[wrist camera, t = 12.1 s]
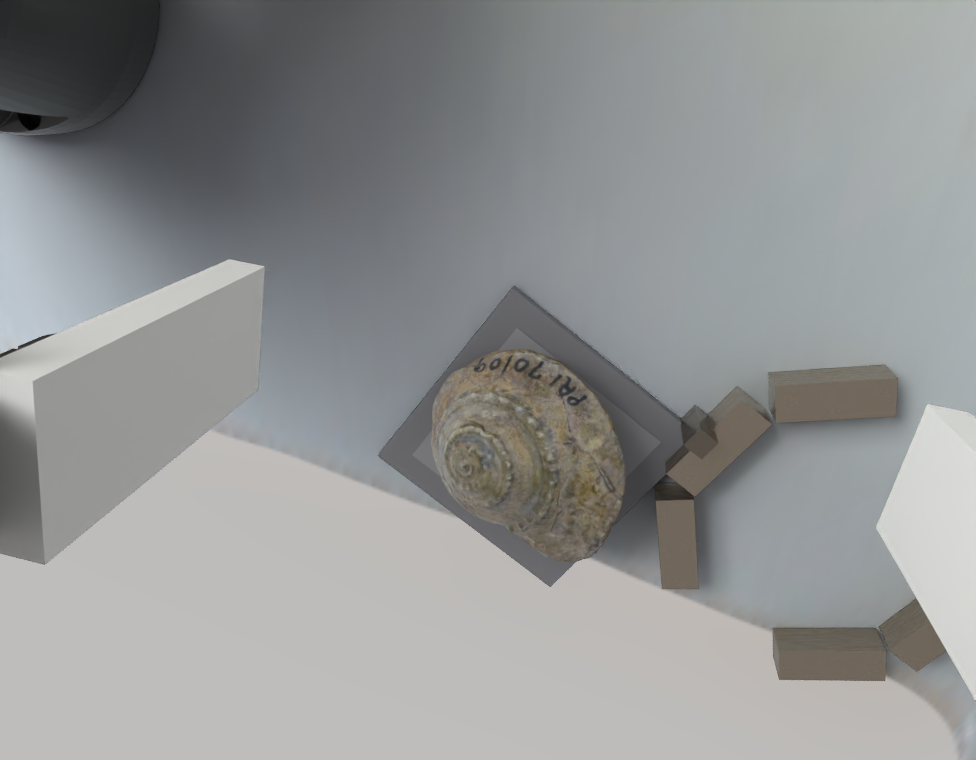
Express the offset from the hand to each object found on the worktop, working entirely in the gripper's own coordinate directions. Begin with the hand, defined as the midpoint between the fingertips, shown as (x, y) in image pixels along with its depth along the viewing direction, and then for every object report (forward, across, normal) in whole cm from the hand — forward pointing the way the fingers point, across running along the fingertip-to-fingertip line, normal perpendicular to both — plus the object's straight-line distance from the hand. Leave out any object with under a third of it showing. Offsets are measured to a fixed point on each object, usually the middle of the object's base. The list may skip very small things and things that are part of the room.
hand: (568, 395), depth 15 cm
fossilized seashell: (+25, -1, -13) cm, 28 cm away
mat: (+25, -1, -14) cm, 29 cm away
